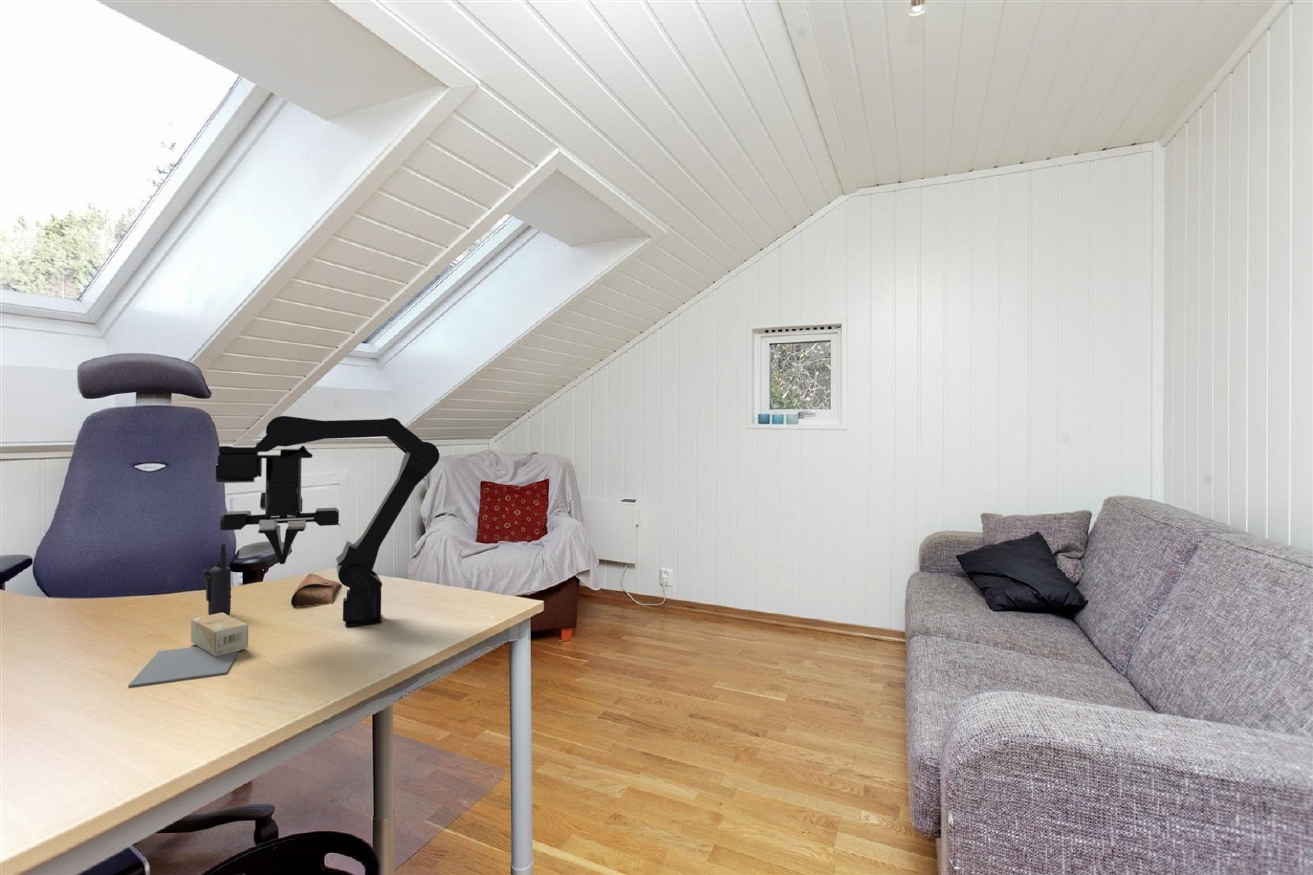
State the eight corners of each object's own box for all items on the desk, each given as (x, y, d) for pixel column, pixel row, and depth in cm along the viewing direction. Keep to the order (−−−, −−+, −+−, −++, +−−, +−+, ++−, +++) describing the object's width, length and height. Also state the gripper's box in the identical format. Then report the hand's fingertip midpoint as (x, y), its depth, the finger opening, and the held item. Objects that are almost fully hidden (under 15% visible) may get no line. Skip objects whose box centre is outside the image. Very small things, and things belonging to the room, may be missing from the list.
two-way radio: (232, 616, 121) (233, 543, 121) (206, 621, 117) (207, 546, 117) (225, 611, 124) (225, 540, 124) (198, 615, 121) (199, 542, 121)
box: (214, 631, 99) (188, 619, 105) (214, 657, 99) (188, 643, 105) (250, 623, 103) (223, 611, 109) (250, 648, 103) (223, 634, 109)
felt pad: (243, 642, 107) (243, 641, 107) (226, 673, 93) (226, 671, 93) (158, 652, 101) (158, 651, 101) (128, 687, 88) (128, 685, 88)
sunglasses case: (335, 603, 131) (318, 578, 130) (303, 622, 129) (285, 597, 127) (342, 583, 147) (327, 562, 146) (314, 600, 145) (298, 578, 144)
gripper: (340, 477, 124) (339, 552, 124) (232, 479, 115) (230, 559, 115) (338, 482, 114) (337, 563, 114) (220, 484, 105) (219, 571, 105)
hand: (282, 563), depth 112 cm, fingers closed
